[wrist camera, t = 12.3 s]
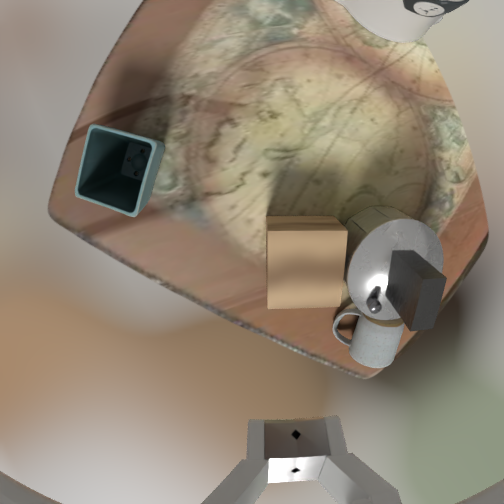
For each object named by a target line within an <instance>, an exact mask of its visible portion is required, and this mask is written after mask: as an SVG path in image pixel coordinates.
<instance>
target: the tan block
mask: <svg viewBox="0 0 504 504" xmlns="http://www.w3.org/2000/svg"><path fill="white" fill-rule="evenodd" d="M347 234H348V230H347V229H346V228H345V227H344V226H343V225H342V224H341V223H340V222H339V221H338V220H337V219H336V218H335V217H334V216H266V285H267V306H268V309H287V308H320V307H340V302H341V294H342V286H343V277H344V267H345V257H346V246H347Z"/></svg>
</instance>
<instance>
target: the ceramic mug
mask: <svg viewBox="0 0 504 504" xmlns="http://www.w3.org/2000/svg"><path fill="white" fill-rule="evenodd" d="M346 314H355V315H359V319H358V322H357V325H356V329H355V331H354V334H353V337H352V339H351V340H349V339H347V338H345V337H344V336H342V335H341V334H340V333H339V332H338V330H337V326H338V323H339V321H340V320H341V319H342V317H343V316H344V315H346ZM403 329H404V322H403V320H402V319H401V318H398V319H393V320H379V319H375V318H372V317H369V316H367V315H365V314H364V313H363V312H361V311H360V310H358V309H345V310H343V311H341V312H340V313H339V314H338V315H337V316H336V318H335V320H334V323H333V333H334V335H335V336H336V338H337V339H338V340H339V341H341V342H342V343H344V344H346V345H348V346H349V353H350V355H351V357H352V358H353V359H354V360H356V361H357V362H358V363H360V364H362V365H365V366H368V367H372V368H382V367H386V366H388V365H390V364H391V363H392V362H393V360H394V357H395V353H396V351H397V348H398V345H399V341H400V338H401V335H402V332H403Z"/></svg>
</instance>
